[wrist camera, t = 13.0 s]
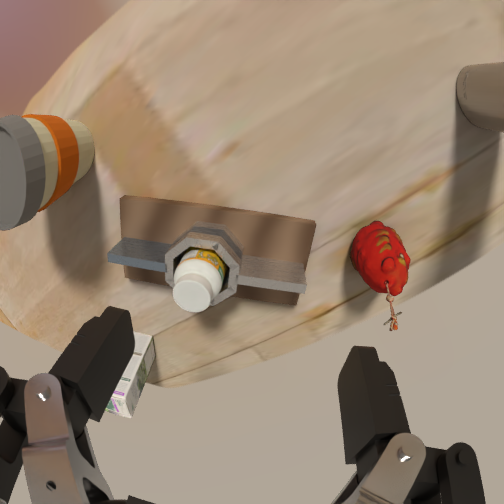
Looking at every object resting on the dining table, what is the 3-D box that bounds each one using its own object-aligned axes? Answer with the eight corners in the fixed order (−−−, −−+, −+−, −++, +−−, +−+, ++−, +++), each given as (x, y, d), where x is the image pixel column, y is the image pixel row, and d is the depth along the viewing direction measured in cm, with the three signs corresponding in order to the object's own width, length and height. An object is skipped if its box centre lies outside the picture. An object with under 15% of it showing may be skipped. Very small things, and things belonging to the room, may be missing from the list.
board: (314, 220, 36) (316, 225, 34) (295, 299, 41) (296, 305, 40) (124, 195, 36) (119, 198, 34) (129, 272, 41) (124, 277, 40)
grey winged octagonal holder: (309, 237, 35) (314, 256, 31) (295, 294, 39) (297, 317, 34) (123, 211, 35) (104, 225, 31) (126, 267, 39) (111, 286, 35)
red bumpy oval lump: (402, 253, 37) (451, 320, 23) (360, 278, 39) (393, 354, 26) (381, 208, 34) (436, 265, 21) (336, 236, 36) (368, 306, 23)
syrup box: (123, 328, 47) (89, 389, 34) (154, 335, 47) (124, 400, 34) (128, 350, 49) (99, 409, 36) (157, 357, 49) (132, 420, 36)
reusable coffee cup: (119, 132, 32) (41, 150, 19) (85, 208, 37) (18, 254, 23) (60, 94, 29) (-19, 101, 16) (33, 167, 34) (-37, 197, 21)
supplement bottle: (181, 244, 37) (155, 285, 28) (216, 226, 35) (197, 265, 27) (203, 277, 39) (185, 323, 30) (237, 262, 37) (227, 308, 29)
